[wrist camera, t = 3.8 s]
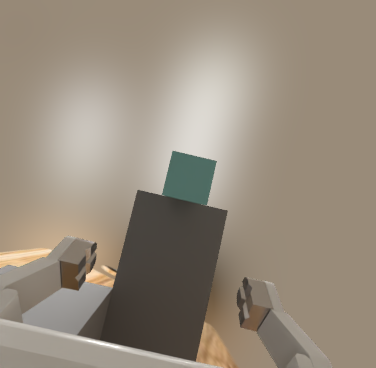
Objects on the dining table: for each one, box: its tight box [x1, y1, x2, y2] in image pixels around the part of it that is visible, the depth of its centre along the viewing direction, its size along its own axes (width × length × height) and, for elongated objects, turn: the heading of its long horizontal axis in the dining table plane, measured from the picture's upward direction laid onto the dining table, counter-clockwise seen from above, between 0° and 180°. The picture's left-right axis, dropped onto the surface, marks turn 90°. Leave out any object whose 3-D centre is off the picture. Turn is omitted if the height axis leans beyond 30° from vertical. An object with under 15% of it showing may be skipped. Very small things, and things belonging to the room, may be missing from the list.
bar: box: [162, 151, 217, 205], centre depth 30 cm, size 24×4×4 cm, turn 2°
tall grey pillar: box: [0, 190, 227, 362], centre depth 25 cm, size 26×25×29 cm
